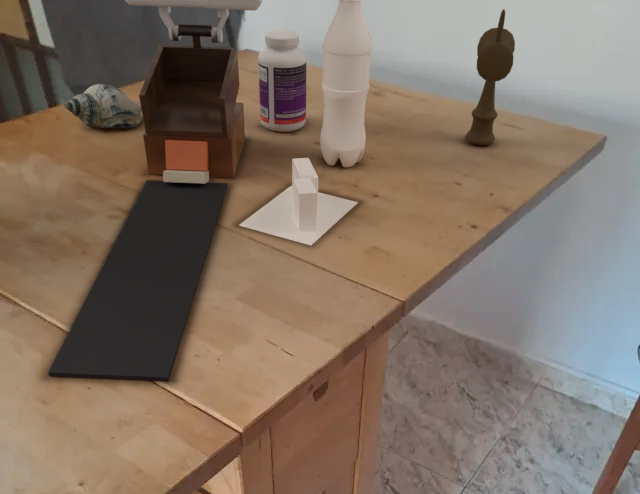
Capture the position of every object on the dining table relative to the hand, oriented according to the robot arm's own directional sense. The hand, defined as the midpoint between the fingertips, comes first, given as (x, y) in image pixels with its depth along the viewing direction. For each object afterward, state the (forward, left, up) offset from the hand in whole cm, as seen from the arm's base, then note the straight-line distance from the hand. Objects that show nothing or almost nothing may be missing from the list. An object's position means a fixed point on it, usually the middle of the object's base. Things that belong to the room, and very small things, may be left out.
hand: (196, 41), depth 104 cm
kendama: (+43, -18, -15) cm, 49 cm away
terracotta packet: (-7, -13, -12) cm, 19 cm away
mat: (-19, -35, -15) cm, 43 cm away
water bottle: (+17, -16, -15) cm, 28 cm away
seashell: (-13, +14, -15) cm, 24 cm away
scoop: (-3, -5, -8) cm, 10 cm away
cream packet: (-8, -14, -13) cm, 21 cm away
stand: (-3, -5, -15) cm, 16 cm away
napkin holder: (+3, -30, -15) cm, 34 cm away
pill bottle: (+15, +2, -15) cm, 22 cm away
